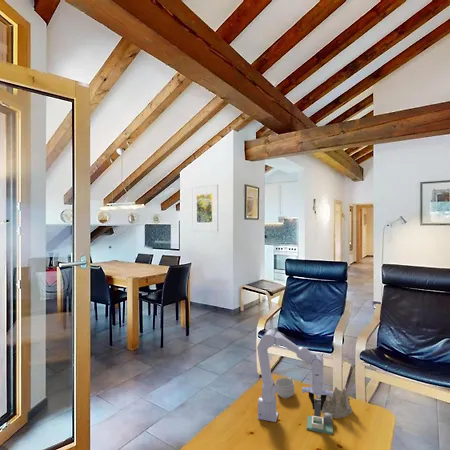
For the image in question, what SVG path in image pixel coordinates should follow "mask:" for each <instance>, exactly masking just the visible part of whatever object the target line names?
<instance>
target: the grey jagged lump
mask: <svg viewBox="0 0 450 450" xmlns="http://www.w3.org/2000/svg"><path fill="white" fill-rule="evenodd" d="M315 399H321V395H319V396H317V395H315ZM350 400H351V398H350V397H349V396H348V392H347V388H345V387H343V388H342V390H341V389H339V388H338V386H335V387H334V390H333V397H331V396H326V400H325V402H324V404H323V408H322V410H321V414H322V413H323V414H324V413H330V414H332V419H333V418H334V419H343V418H345V417H348V416H349V415H351V414H353V412H352V411H353V408H352V406H351V404H350V403H351V402H350Z"/></svg>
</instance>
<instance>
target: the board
mask: <svg viewBox="0 0 450 450" xmlns="http://www.w3.org/2000/svg"><path fill="white" fill-rule="evenodd" d="M333 427H334V426H333V417H332V414H330V413H323V417H322V416H321V417H318V416H314V415H307V422H306V430H307V431H311V432H312V431H313V432H318V433H322V434H323V433H324V434H328V435H334V428H333Z"/></svg>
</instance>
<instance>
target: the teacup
mask: <svg viewBox="0 0 450 450" xmlns="http://www.w3.org/2000/svg"><path fill="white" fill-rule="evenodd" d="M274 384H275V385H276V387H277V392H276V393H277V395H278V396H279V397H281V398H283V399H290V398H292V396H293V395H295V381H294V380H293V378H292V377H290V376H289V377H288V378H287V377H281V378H278V379H276V380H275V381H274Z"/></svg>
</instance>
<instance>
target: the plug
mask: <svg viewBox="0 0 450 450" xmlns="http://www.w3.org/2000/svg"><path fill="white" fill-rule="evenodd" d="M313 410H314V411H313V416H317V417H322V412H321V399H317V398H316V397H314V409H313Z"/></svg>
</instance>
